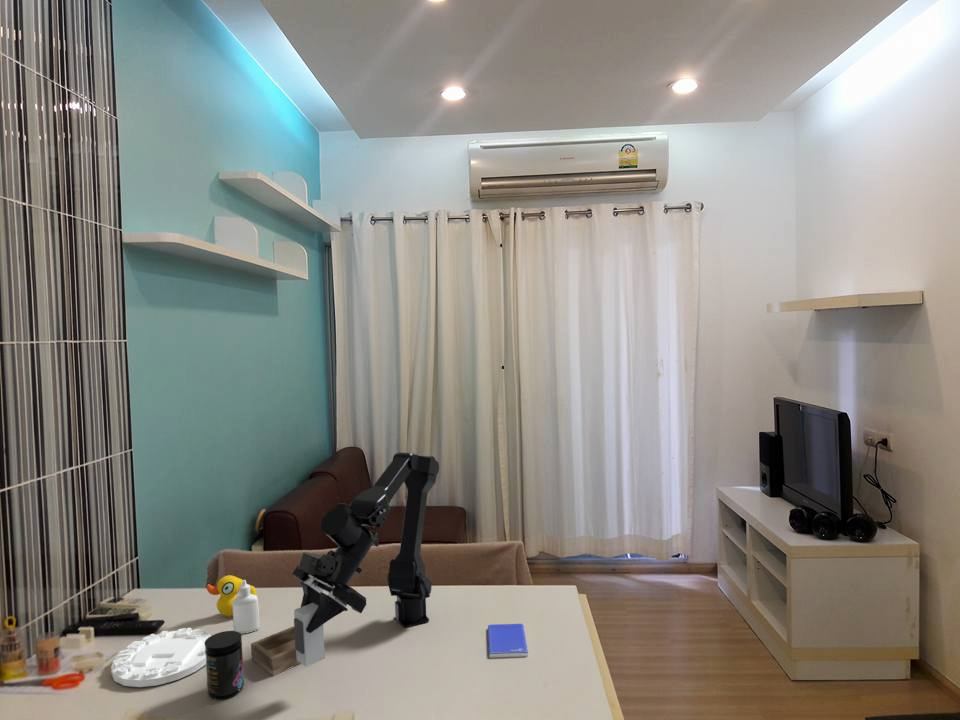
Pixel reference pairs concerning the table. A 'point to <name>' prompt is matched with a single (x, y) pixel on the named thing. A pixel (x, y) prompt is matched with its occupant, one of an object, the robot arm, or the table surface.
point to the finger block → (308, 636)
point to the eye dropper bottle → (245, 610)
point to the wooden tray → (276, 651)
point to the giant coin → (160, 658)
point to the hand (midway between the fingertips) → (302, 628)
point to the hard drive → (507, 640)
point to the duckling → (227, 593)
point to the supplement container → (224, 664)
